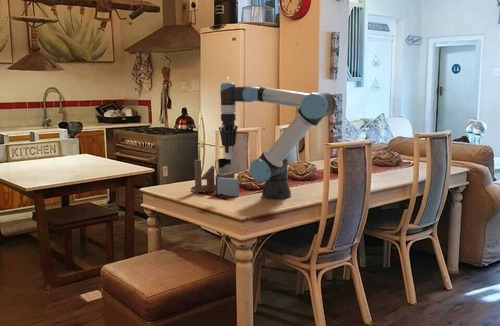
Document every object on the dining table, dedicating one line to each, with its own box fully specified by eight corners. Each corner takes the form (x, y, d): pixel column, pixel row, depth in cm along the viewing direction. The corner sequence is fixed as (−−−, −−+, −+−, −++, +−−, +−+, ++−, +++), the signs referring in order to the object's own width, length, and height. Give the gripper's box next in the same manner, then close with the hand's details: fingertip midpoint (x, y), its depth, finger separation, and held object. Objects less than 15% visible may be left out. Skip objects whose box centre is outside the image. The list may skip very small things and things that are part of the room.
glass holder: (223, 186, 304) (222, 160, 301) (209, 182, 315) (208, 158, 312) (235, 184, 309) (234, 159, 307) (221, 181, 320) (220, 156, 318)
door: (220, 193, 283) (219, 176, 281) (240, 195, 277) (239, 178, 276) (217, 194, 280) (217, 177, 279) (237, 196, 275) (237, 179, 273)
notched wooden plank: (234, 190, 293) (234, 170, 291) (217, 194, 281) (217, 174, 279) (231, 189, 294) (231, 170, 292) (214, 194, 282) (214, 174, 280)
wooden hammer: (214, 191, 289) (214, 159, 286) (195, 193, 285) (195, 160, 282) (212, 190, 292) (212, 158, 290) (194, 192, 288) (193, 159, 286)
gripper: (230, 112, 276) (231, 156, 279) (213, 113, 265) (214, 159, 268) (242, 112, 271) (242, 157, 275) (225, 114, 260) (226, 161, 264)
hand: (228, 158), depth 271 cm, fingers closed
